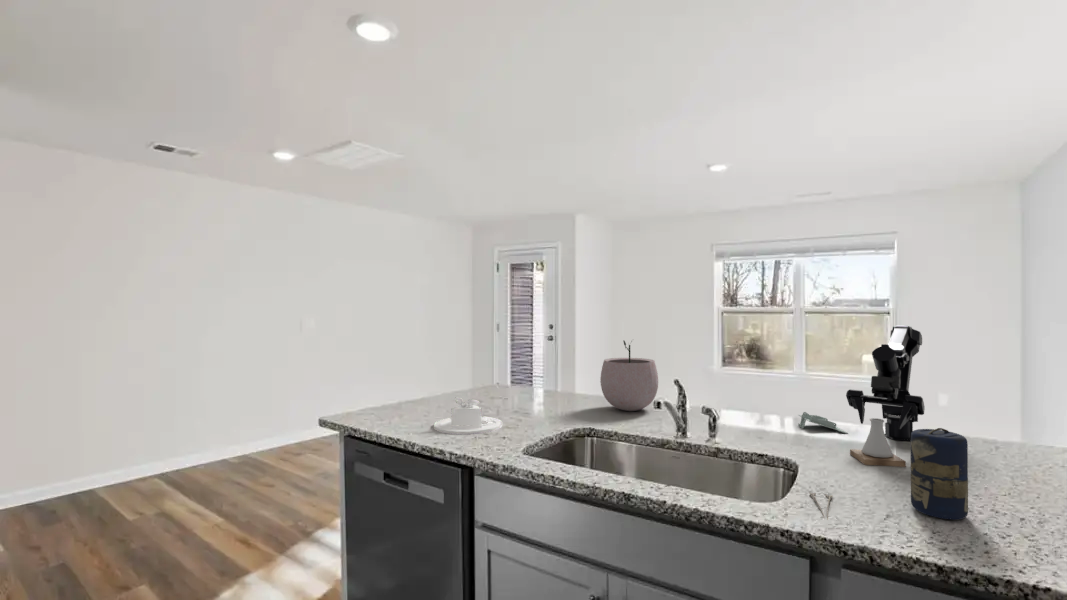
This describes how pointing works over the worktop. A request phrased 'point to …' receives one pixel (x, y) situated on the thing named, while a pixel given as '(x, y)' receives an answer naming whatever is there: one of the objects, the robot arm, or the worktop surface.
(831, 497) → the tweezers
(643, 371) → the plant pot
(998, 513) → the worktop surface
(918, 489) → the canister
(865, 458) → the walnut board
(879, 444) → the flask
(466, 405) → the dish
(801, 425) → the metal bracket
